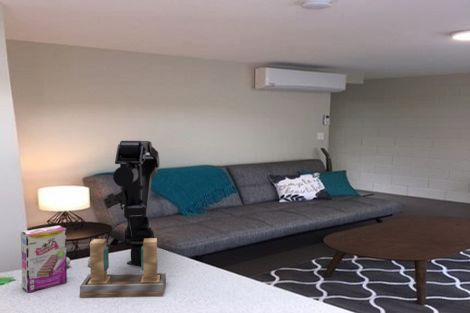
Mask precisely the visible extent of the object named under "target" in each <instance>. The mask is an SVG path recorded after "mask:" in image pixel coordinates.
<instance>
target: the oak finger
mask: <svg viewBox="0 0 470 313" xmlns="http://www.w3.org/2000/svg"><path fill="white" fill-rule="evenodd" d="M140 267H141V268H140V269H141V271H143V273H144V276H142V279H141V284H157V283H160V275H157V273H158V238H157V237H155V238H144V242H143V246H142V248H141V266H140Z"/></svg>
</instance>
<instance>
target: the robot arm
mask: <svg viewBox="0 0 470 313" xmlns="http://www.w3.org/2000/svg"><path fill="white" fill-rule="evenodd" d="M114 164H115V165H119V167H117V168H116V169H115V170H114V172H113V174H112V177H113V178H112V179H113V181H114V183H115V184H116V185H117V186H118V187H120V190H119V189H118V190H117V191H114V192H111V193H109V194H107V195H103V196H102V201H103V203H104V205H105V208H106V210H108V209H111V208H112V207H114V206H116V205H119V206H120V209H121V211H122V212H123V213H122V215H123V217H124V218H125V219H126V222H127V226H126V227H125V230H124V240H125V246H126V247H130V260H129V261H126V264H127V265H133V266H140V267H141V248H142V246H143V242H144V238H156V237H155V236H156V235H155V232H154V230H153V229H154V228H153V227H152V224H151V222H150V220H149V217H148V214H149V209H150V206H149V205H150V199H151V198H150V197H151V189H152V180H153V179H154V178H155V177H156V176H157V175H158V169H159V168H160V164H161V163H160V155H159V151H158V150H156V148H155V147H153V144H152V141H149V140H120V142H119V144H118V145H117V148H116V154H115V159H114Z"/></svg>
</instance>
